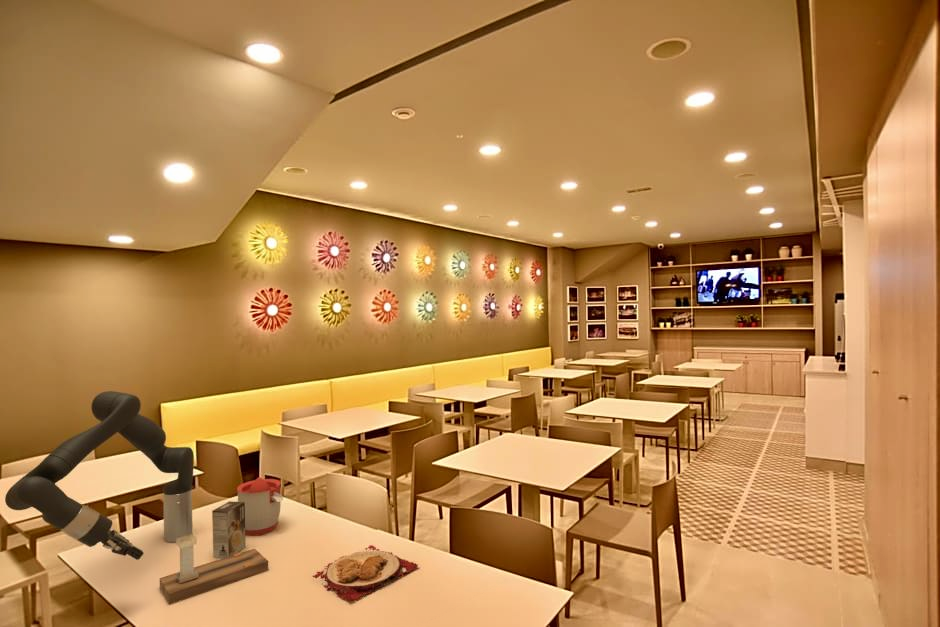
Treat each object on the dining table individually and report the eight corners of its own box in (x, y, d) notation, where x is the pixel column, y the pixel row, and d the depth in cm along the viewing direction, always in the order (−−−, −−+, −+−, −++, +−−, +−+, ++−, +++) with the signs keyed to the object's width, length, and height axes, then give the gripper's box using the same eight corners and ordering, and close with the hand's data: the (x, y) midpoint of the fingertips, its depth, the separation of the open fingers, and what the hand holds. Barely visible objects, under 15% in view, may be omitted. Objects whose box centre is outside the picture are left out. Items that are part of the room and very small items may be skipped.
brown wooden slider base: (159, 588, 153) (159, 577, 153) (254, 557, 172) (254, 547, 172) (169, 604, 144) (168, 592, 144) (268, 570, 163) (268, 559, 163)
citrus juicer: (267, 541, 184) (266, 486, 184) (227, 535, 189) (227, 482, 189) (293, 523, 199) (293, 473, 199) (256, 519, 204) (255, 469, 204)
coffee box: (230, 545, 181) (229, 500, 181) (246, 547, 180) (245, 501, 180) (212, 557, 172) (211, 510, 172) (228, 559, 171) (228, 511, 171)
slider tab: (175, 577, 153) (175, 538, 153) (193, 571, 156) (193, 533, 156) (179, 583, 149) (179, 543, 149) (198, 577, 153) (197, 538, 153)
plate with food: (419, 571, 163) (419, 559, 163) (350, 605, 143) (350, 592, 143) (371, 549, 179) (371, 539, 179) (303, 577, 159) (303, 566, 159)
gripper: (101, 520, 134) (156, 551, 142) (95, 506, 144) (146, 536, 152) (76, 546, 130) (134, 577, 138) (72, 530, 140) (126, 560, 148)
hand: (140, 555), depth 145 cm, fingers closed
